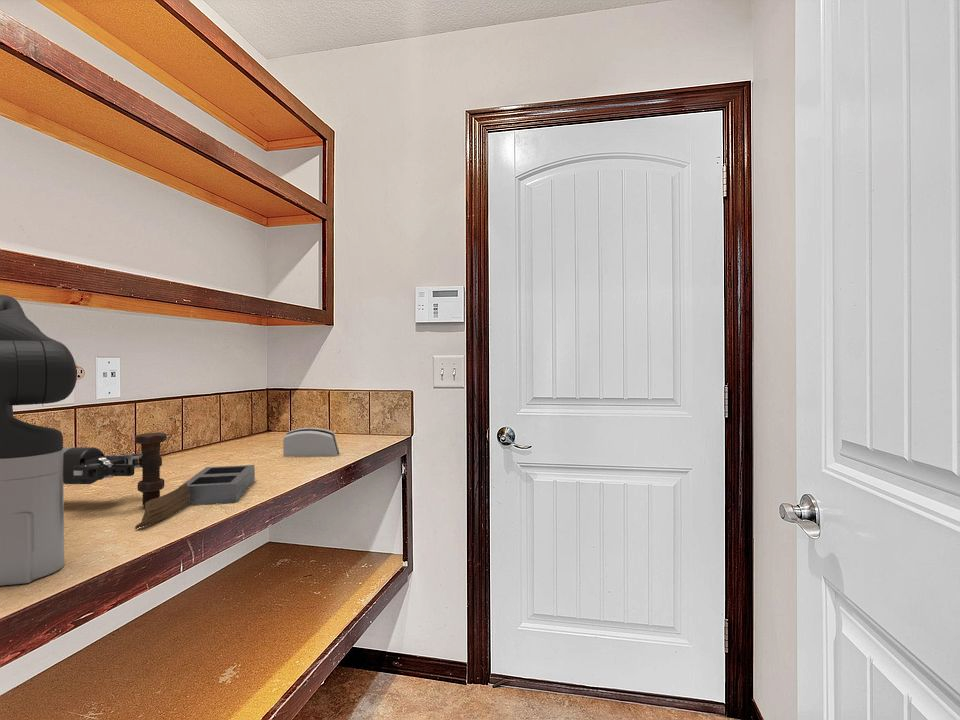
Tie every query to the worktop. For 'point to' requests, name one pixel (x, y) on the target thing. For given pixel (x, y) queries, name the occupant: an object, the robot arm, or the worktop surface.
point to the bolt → (150, 465)
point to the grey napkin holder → (310, 442)
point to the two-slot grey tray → (220, 484)
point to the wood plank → (165, 506)
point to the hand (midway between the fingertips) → (147, 465)
